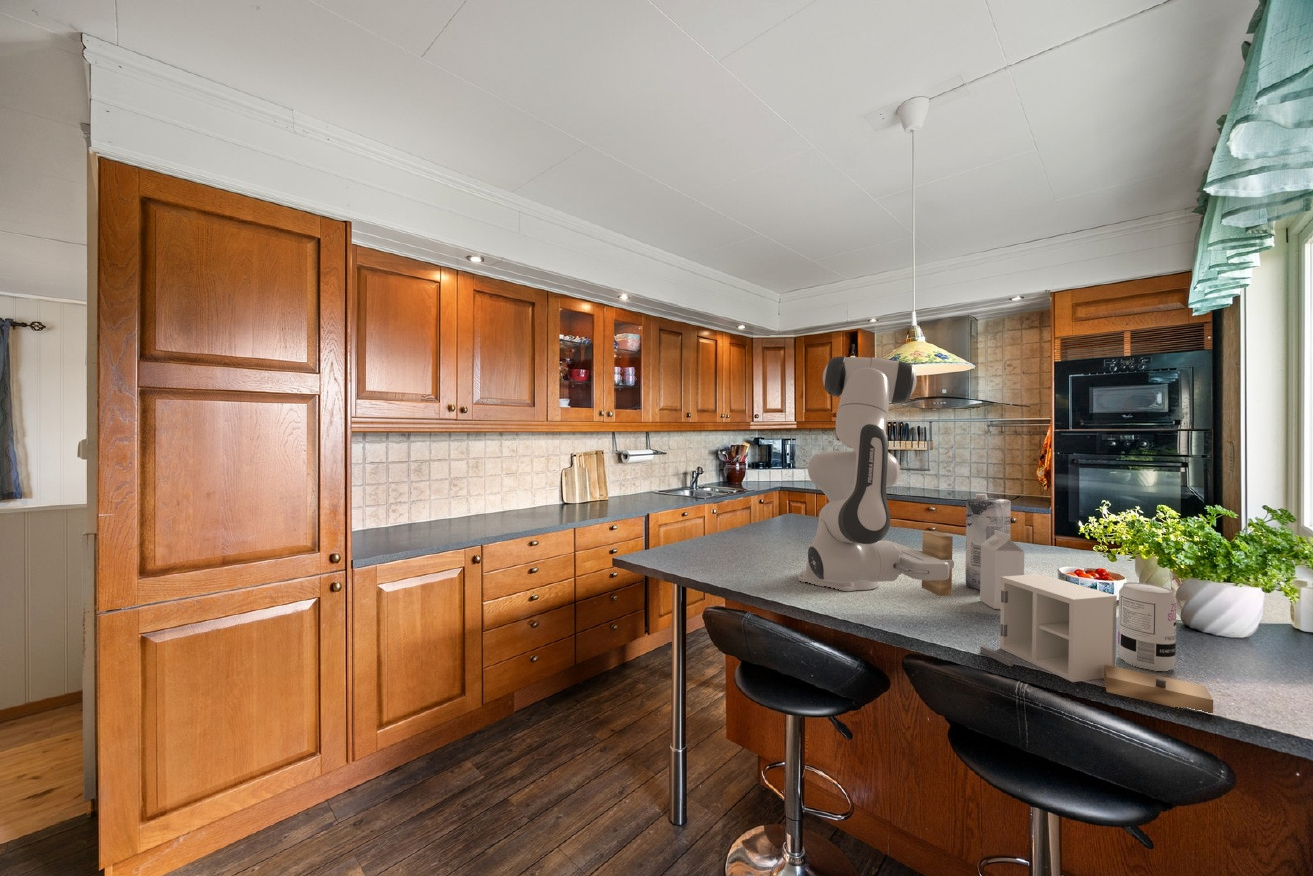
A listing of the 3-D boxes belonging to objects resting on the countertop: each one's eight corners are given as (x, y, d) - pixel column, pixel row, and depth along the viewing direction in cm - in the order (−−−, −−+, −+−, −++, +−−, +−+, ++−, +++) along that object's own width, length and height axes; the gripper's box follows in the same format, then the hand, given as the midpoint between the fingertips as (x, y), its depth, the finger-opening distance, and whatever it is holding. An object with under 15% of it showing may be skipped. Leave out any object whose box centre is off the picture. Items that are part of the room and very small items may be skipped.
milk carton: (1007, 601, 141) (1009, 530, 141) (1023, 610, 134) (1025, 535, 134) (979, 600, 142) (980, 529, 141) (993, 609, 135) (995, 535, 134)
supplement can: (1110, 652, 109) (1111, 579, 109) (1162, 659, 106) (1163, 584, 106) (1128, 669, 101) (1130, 590, 101) (1184, 676, 98) (1186, 596, 98)
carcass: (1048, 685, 95) (1049, 601, 95) (977, 650, 110) (978, 578, 109) (1115, 676, 98) (1116, 595, 98) (1037, 643, 113) (1038, 573, 113)
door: (1106, 694, 93) (1106, 671, 93) (1104, 681, 97) (1104, 659, 97) (1212, 718, 85) (1213, 694, 85) (1204, 703, 90) (1205, 679, 90)
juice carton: (1013, 589, 152) (1015, 495, 151) (991, 595, 147) (993, 497, 146) (982, 581, 160) (983, 491, 159) (960, 586, 155) (961, 493, 154)
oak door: (934, 596, 116) (935, 536, 115) (917, 587, 122) (918, 531, 121) (951, 595, 116) (952, 536, 116) (933, 587, 122) (934, 530, 122)
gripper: (910, 558, 107) (974, 556, 109) (859, 537, 127) (913, 535, 129) (910, 589, 107) (973, 587, 109) (859, 563, 127) (913, 561, 129)
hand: (940, 559), depth 119 cm, fingers closed on oak door, 6 cm apart
